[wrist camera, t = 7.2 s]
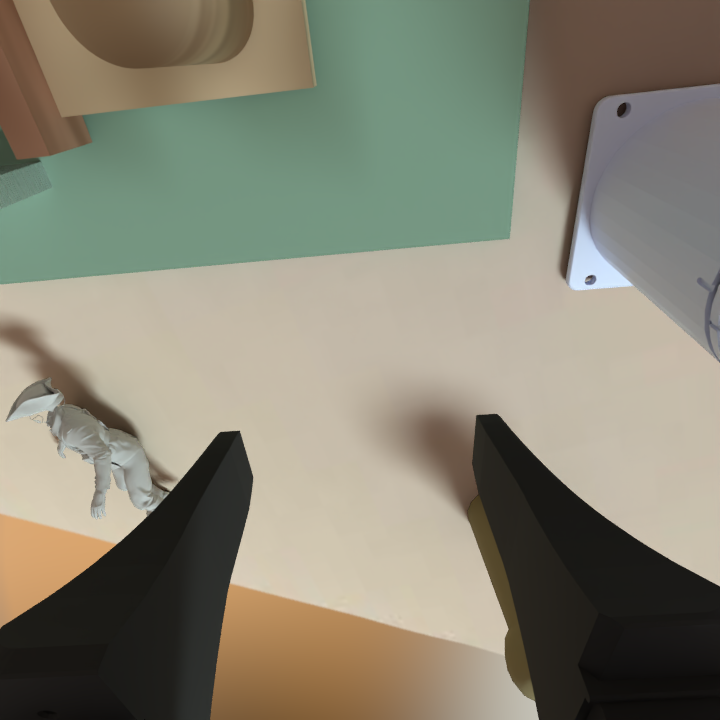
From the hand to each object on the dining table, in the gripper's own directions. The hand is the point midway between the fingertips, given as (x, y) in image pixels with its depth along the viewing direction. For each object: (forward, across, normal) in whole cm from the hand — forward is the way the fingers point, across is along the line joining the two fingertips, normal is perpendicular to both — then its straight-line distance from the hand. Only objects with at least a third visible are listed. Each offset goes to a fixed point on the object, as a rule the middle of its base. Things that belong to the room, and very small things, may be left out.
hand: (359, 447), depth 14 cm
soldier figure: (+11, +15, +9) cm, 21 cm away
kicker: (+9, +6, -12) cm, 16 cm away
